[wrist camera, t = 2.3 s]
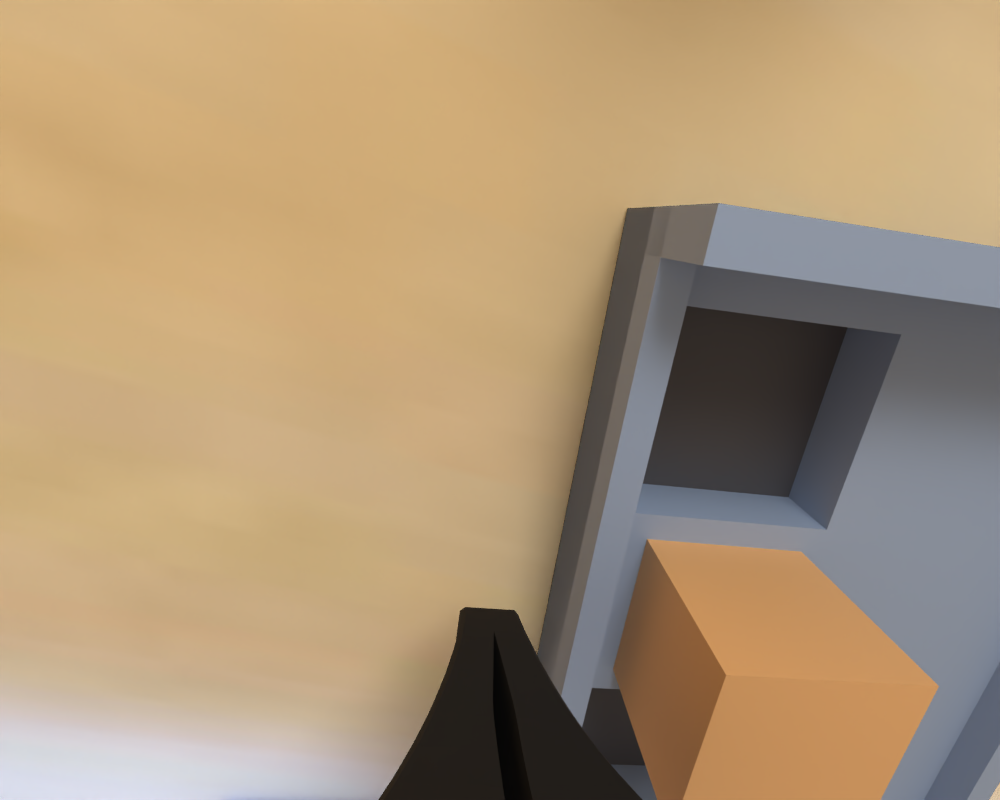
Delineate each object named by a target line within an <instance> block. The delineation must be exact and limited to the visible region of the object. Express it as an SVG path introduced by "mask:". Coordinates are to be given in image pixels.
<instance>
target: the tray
mask: <svg viewBox="0 0 1000 800" xmlns="http://www.w3.org/2000/svg"><path fill="white" fill-rule="evenodd" d="M647 539H653V540H665V541H678V542H690V543H702V544H714V545H727V546H739V547H751V548H764V549H776V550H788V551H801V552H802V553H803V554H804V555H805V556H806V557H807V558H808V559H809V560H810V561H812V562H813V563H814V564H815V565H816V566H817V567H818V568H819V569H820V570H821V571H822V572H823V573H824V574H825V575H826V576H827V577H828V578H829V579H830V580H831V581H832V582H833V583H834V584H835V585H836V586H837V587H838V588H839V589H840V590H841V591H842V592H843V593H844V594H845V595H846V596H847V597H848V598H849V599H850V600H851V601H852V602H853V603H854V604H855V605H857V606H858V607H859V608H860V609H861V610H862V611H863V612H864V613H865V614H866V615H867V616H868V617H869V618H870V619H871V620H872V621H873V622H874V623H875V624H876V625H877V626H878V627H879V628H880V629H881V630H882V631H883V632H884V633H885V634H886V635H887V636H888V637H889V638H890V639H891V640H892V641H893V642H894V643H895V644H896V645H897V646H898V647H899V648H900V649H902V650H903V651H904V652H905V653H906V654H907V655H908V656H909V657H910V658H911V659H912V660H913V661H914V662H915V663H916V664H917V665H918V666H919V667H920V668H921V669H922V670H923V671H924V672H925V673H926V674H927V675H928V676H929V677H930V678H931V679H932V680H933V681H934V682H935V683H936V684H937V685H938V686H939V687H938V689H937V691H936V693H935V695H934V697H933V699H932V701H931V703H930V705H929V707H928V709H927V711H926V713H925V715H924V716H923V718H922V720H921V722H920V724H919V726H918V728H917V730H916V732H915V734H914V736H913V738H912V740H911V742H910V744H909V746H908V747H907V749H906V751H905V753H904V755H903V757H902V759H901V761H900V763H899V765H898V767H897V769H896V771H895V773H894V775H893V777H892V779H891V780H890V782H889V784H888V786H887V788H886V790H885V792H884V794H883V796H882V798H881V800H989V799H990V797H991V796H992V794H993V792H994V791H995V789H996V787H997V786H998V784H999V782H1000V247H993V246H987V245H981V244H974V243H968V242H962V241H955V240H949V239H943V238H936V237H930V236H924V235H917V234H911V233H904V232H898V231H892V230H885V229H879V228H873V227H866V226H860V225H854V224H847V223H841V222H835V221H828V220H822V219H816V218H809V217H803V216H796V215H790V214H784V213H777V212H771V211H765V210H758V209H752V208H746V207H739V206H733V205H727V204H720V203H715V204H697V205H680V206H662V207H645V208H628V209H627V213H626V218H625V223H624V228H623V233H622V238H621V243H620V248H619V253H618V258H617V263H616V268H615V273H614V278H613V283H612V288H611V293H610V298H609V303H608V308H607V313H606V317H605V322H604V327H603V332H602V337H601V342H600V347H599V352H598V357H597V362H596V367H595V372H594V377H593V382H592V387H591V392H590V397H589V402H588V407H587V412H586V417H585V422H584V427H583V432H582V437H581V441H580V446H579V451H578V456H577V461H576V466H575V471H574V476H573V481H572V486H571V491H570V496H569V501H568V506H567V511H566V516H565V521H564V526H563V531H562V536H561V541H560V546H559V551H558V556H557V560H556V565H555V570H554V575H553V580H552V585H551V590H550V595H549V600H548V605H547V610H546V615H545V620H544V625H543V630H542V635H541V640H540V645H539V650H538V655H537V656H538V658H539V660H540V662H541V663H542V665H543V667H544V669H545V670H546V672H547V674H548V676H549V677H550V679H551V681H552V682H553V684H554V686H555V688H556V689H557V691H558V692H559V694H560V696H561V697H562V699H563V700H564V702H565V703H566V705H567V706H568V708H569V709H570V711H571V712H572V714H573V715H574V717H575V718H576V720H577V721H578V723H579V724H580V725H581V727H582V728H583V730H584V731H585V732H586V734H587V735H588V736H589V738H590V739H591V740H592V742H593V743H594V744H595V745H596V747H597V748H598V749H599V751H600V752H601V753H602V754H603V756H604V757H605V758H606V759H607V760H608V762H609V763H610V764H611V765H612V766H613V768H614V769H615V770H616V771H617V772H618V773H619V775H620V776H621V777H622V778H623V779H624V780H625V781H626V782H627V783H628V784H629V785H630V786H631V788H632V789H633V790H634V791H635V792H636V793H637V794H638V795H639V796H640V797H641V798H642V800H657V798H656V795H655V792H654V789H653V786H652V783H651V780H650V777H649V774H648V771H647V768H646V765H645V762H644V759H643V756H642V753H641V751H640V748H639V745H638V742H637V739H636V736H635V733H634V730H633V727H632V724H631V721H630V718H629V715H628V712H627V709H626V706H625V703H624V700H623V697H622V694H621V691H620V688H619V686H618V683H617V680H616V677H615V674H614V671H613V667H614V663H615V660H616V656H617V652H618V648H619V644H620V640H621V637H622V633H623V629H624V625H625V621H626V618H627V614H628V610H629V606H630V602H631V598H632V595H633V591H634V587H635V583H636V579H637V575H638V572H639V568H640V564H641V560H642V556H643V552H644V549H645V545H646V541H647Z"/></svg>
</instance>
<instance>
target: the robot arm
mask: <svg viewBox="0 0 1000 800" xmlns="http://www.w3.org/2000/svg"><path fill="white" fill-rule="evenodd" d="M379 800H642V798H641V797H640V796H639V795H638V794H637V793H636V792H635V791H634V790H633V789H632V788H631V786H630V785H629V784H628V783H627V782H626V781H625V780H624V779H623V778H622V777H621V776H620V775H619V773H618V772H617V771H616V770H615V769H614V768H613V766H612V765H611V764H610V763H609V762H608V760H607V759H606V758H605V757H604V756H603V754H602V753H601V752H600V751H599V749H598V748H597V747H596V745H595V744H594V743H593V742H592V740H591V739H590V738H589V736H588V735H587V734H586V732H585V731H584V730H583V728H582V727H581V725H580V724H579V723H578V721H577V720H576V718H575V717H574V715H573V714H572V712H571V711H570V709H569V708H568V706H567V705H566V703H565V702H564V700H563V699H562V697H561V696H560V694H559V692H558V691H557V689H556V688H555V686H554V684H553V682H552V681H551V679H550V677H549V676H548V674H547V672H546V670H545V669H544V667H543V665H542V663H541V662H540V660H539V658H538V656H537V654H536V652H535V650H534V648H533V646H532V644H531V642H530V640H529V638H528V636H527V634H526V632H525V630H524V628H523V625H522V623H521V621H520V619H519V616H518V614H517V613H516V612H515V611H514V610H502V609H486V608H470V607H465V608H463V609H462V610H461V611H460V615H459V622H458V630H457V637H456V643H455V647H454V650H453V653H452V656H451V659H450V662H449V665H448V668H447V671H446V674H445V676H444V679H443V681H442V684H441V686H440V689H439V691H438V693H437V696H436V698H435V700H434V703H433V705H432V707H431V709H430V711H429V713H428V716H427V718H426V720H425V722H424V724H423V726H422V728H421V730H420V732H419V733H418V735H417V737H416V739H415V741H414V743H413V745H412V746H411V748H410V750H409V752H408V753H407V755H406V757H405V759H404V760H403V762H402V764H401V766H400V767H399V769H398V771H397V772H396V774H395V775H394V777H393V779H392V780H391V782H390V783H389V785H388V786H387V788H386V789H385V791H384V792H383V794H382V795H381V797H380V798H379Z"/></svg>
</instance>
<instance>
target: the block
mask: <svg viewBox="0 0 1000 800" xmlns="http://www.w3.org/2000/svg"><path fill="white" fill-rule="evenodd" d="M613 671H614V674H615V677H616V680H617V683H618V686H619V688H620V691H621V694H622V697H623V700H624V703H625V706H626V709H627V712H628V715H629V718H630V721H631V724H632V727H633V730H634V733H635V736H636V739H637V742H638V745H639V748H640V751H641V753H642V756H643V759H644V762H645V765H646V768H647V771H648V774H649V777H650V780H651V783H652V786H653V789H654V792H655V795H656V798H657V800H881V798H882V796H883V794H884V792H885V790H886V788H887V786H888V784H889V782H890V780H891V779H892V777H893V775H894V773H895V771H896V769H897V767H898V765H899V763H900V761H901V759H902V757H903V755H904V753H905V751H906V749H907V747H908V746H909V744H910V742H911V740H912V738H913V736H914V734H915V732H916V730H917V728H918V726H919V724H920V722H921V720H922V718H923V716H924V715H925V713H926V711H927V709H928V707H929V705H930V703H931V701H932V699H933V697H934V695H935V693H936V691H937V689H938V687H939V686H938V685H937V684H936V683H935V682H934V681H933V680H932V679H931V678H930V677H929V676H928V675H927V674H926V673H925V672H924V671H923V670H922V669H921V668H920V667H919V666H918V665H917V664H916V663H915V662H914V661H913V660H912V659H911V658H910V657H909V656H908V655H907V654H906V653H905V652H904V651H903V650H902V649H900V648H899V647H898V646H897V645H896V644H895V643H894V642H893V641H892V640H891V639H890V638H889V637H888V636H887V635H886V634H885V633H884V632H883V631H882V630H881V629H880V628H879V627H878V626H877V625H876V624H875V623H874V622H873V621H872V620H871V619H870V618H869V617H868V616H867V615H866V614H865V613H864V612H863V611H862V610H861V609H860V608H859V607H858V606H857V605H855V604H854V603H853V602H852V601H851V600H850V599H849V598H848V597H847V596H846V595H845V594H844V593H843V592H842V591H841V590H840V589H839V588H838V587H837V586H836V585H835V584H834V583H833V582H832V581H831V580H830V579H829V578H828V577H827V576H826V575H825V574H824V573H823V572H822V571H821V570H820V569H819V568H818V567H817V566H816V565H815V564H814V563H813V562H812V561H810V560H809V559H808V558H807V557H806V556H805V555H804V554H803V553H802V552H801V551H788V550H776V549H764V548H751V547H739V546H727V545H714V544H702V543H690V542H678V541H665V540H653V539H647V541H646V545H645V549H644V552H643V556H642V560H641V564H640V568H639V572H638V575H637V579H636V583H635V587H634V591H633V595H632V598H631V602H630V606H629V610H628V614H627V618H626V621H625V625H624V629H623V633H622V637H621V640H620V644H619V648H618V652H617V656H616V660H615V663H614V667H613Z"/></svg>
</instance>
